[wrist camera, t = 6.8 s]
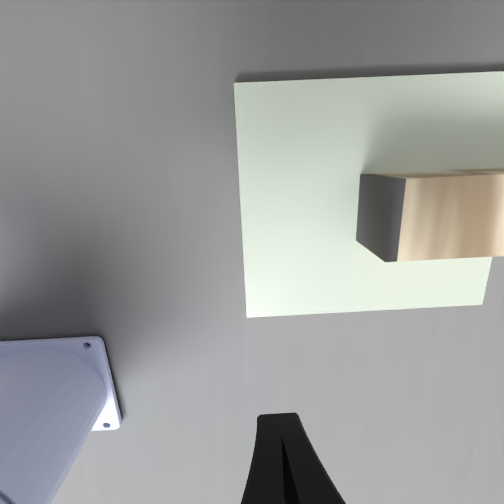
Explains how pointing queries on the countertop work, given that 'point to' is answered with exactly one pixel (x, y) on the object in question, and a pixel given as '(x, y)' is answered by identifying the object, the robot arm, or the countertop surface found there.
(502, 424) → the countertop surface
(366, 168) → the sage board
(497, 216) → the birch block
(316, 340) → the countertop surface
